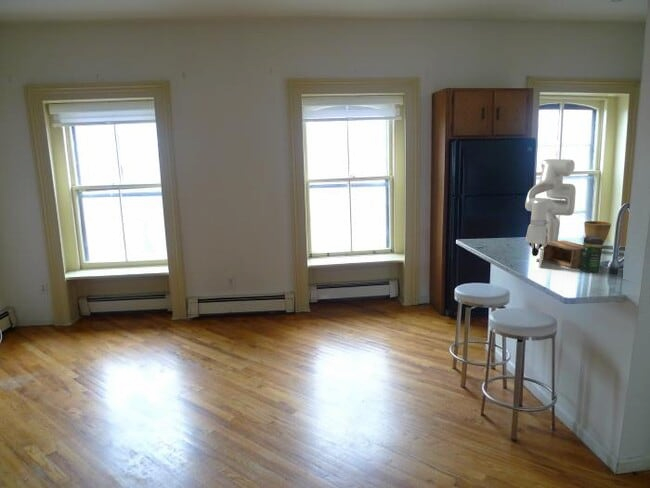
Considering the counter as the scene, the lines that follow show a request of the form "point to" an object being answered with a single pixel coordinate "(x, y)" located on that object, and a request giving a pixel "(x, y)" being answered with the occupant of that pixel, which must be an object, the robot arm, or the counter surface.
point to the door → (540, 257)
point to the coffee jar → (591, 254)
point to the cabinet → (563, 253)
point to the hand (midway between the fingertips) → (534, 255)
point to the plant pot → (597, 229)
